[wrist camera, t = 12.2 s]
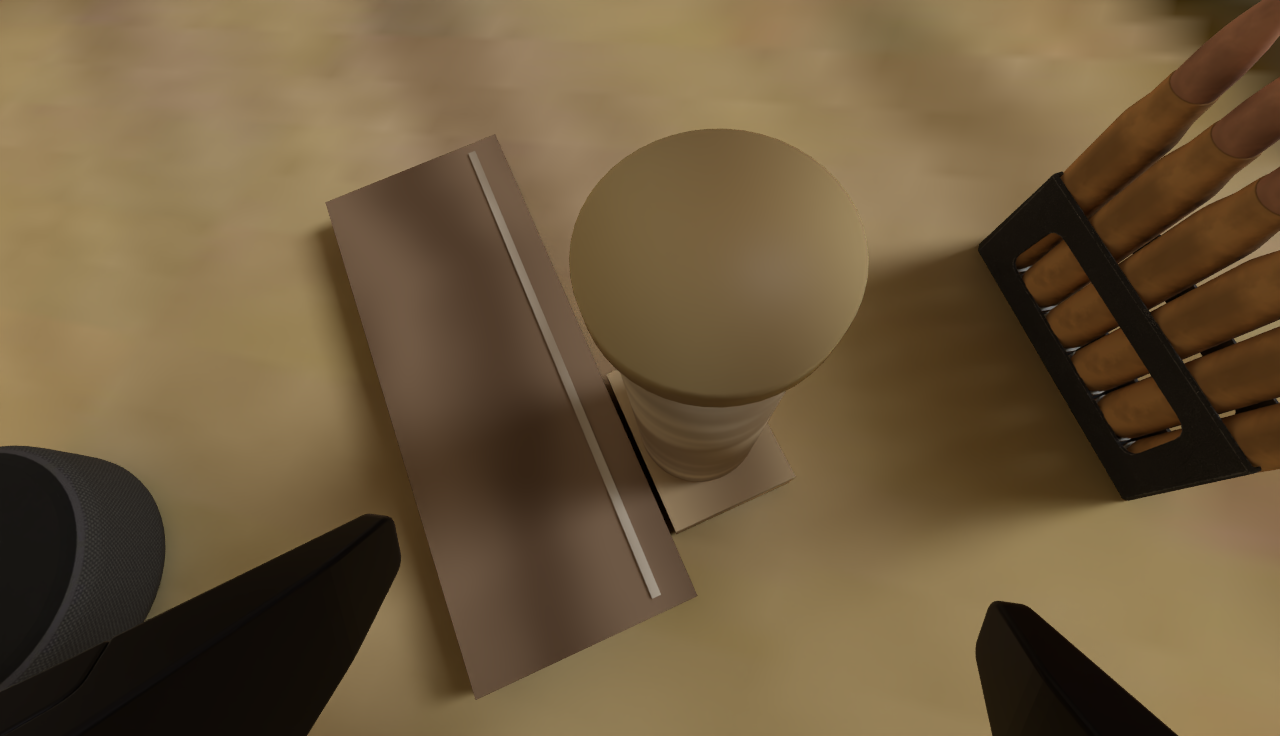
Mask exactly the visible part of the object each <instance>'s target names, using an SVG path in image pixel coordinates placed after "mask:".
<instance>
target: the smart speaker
mask: <svg viewBox="0 0 1280 736" xmlns="http://www.w3.org/2000/svg"><path fill="white" fill-rule="evenodd" d="M164 560H165V534H164V527H163V523H162V518H161V515H160V513H159V510H158V507H157V505H156V503H155V501H154V499H153V497H152V495H151V494H150V492H149V491H148V489H147V488H146V487H145V486H144V485H143V484H142V483H141V481H140V480H138V479H137V478H136V477H135V476H134V475H133V474H132V473H130V472H129V471H127V470H126V469H124V468H123V467H120V466H118V465H116V464H114V463H111V462H108V461H105V460H102V459H98V458H94V457H89V456H84V455H78V454H73V453H67V452H62V451H56V450H51V449H45V448H38V447H29V446H2V447H0V691H1V690H3V689H5V688H7V687H10V686H12V685H14V684H16V683H19V682H21V681H23V680H25V679H27V678H29V677H31V676H34V675H36V674H38V673H40V672H42V671H44V670H46V669H48V668H50V667H52V666H55V665H57V664H59V663H61V662H63V661H65V660H67V659H69V658H71V657H74V656H76V655H78V654H80V653H82V652H84V651H86V650H88V649H90V648H92V647H94V646H96V645H98V644H100V643H102V642H104V641H108V642H110V640H111V639H112V638H113V637H115V636H117V635H119V634H121V633H123V632H125V631H127V630H129V629H131V628H133V627H135V626H137V625H139V624H141V623H143V622H144V620H145V618H146V616H147V614H148V612H149V611H150V608H151V606H152V604H153V602H154V599H155V597H156V594H157V591H158V588H159V585H160V581H161V577H162V573H163V567H164Z"/></svg>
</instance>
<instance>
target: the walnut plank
mask: <svg viewBox="0 0 1280 736" xmlns="http://www.w3.org/2000/svg"><path fill="white" fill-rule="evenodd" d="M326 206H327V209H328V212H329V216H330V219H331V222H332V226H333V229H334V232H335V236H336V239H337V242H338V245H339V249H340V252H341V255H342V259H343V262H344V265H345V269H346V272H347V275H348V279H349V282H350V285H351V289H352V292H353V295H354V298H355V302H356V305H357V308H358V312H359V315H360V318H361V322H362V325H363V328H364V332H365V335H366V338H367V342H368V345H369V348H370V351H371V355H372V358H373V361H374V365H375V368H376V371H377V375H378V378H379V381H380V385H381V388H382V391H383V395H384V398H385V401H386V404H387V408H388V411H389V414H390V418H391V421H392V424H393V428H394V431H395V434H396V438H397V441H398V444H399V448H400V451H401V454H402V458H403V461H404V464H405V467H406V471H407V474H408V477H409V481H410V484H411V487H412V491H413V494H414V497H415V501H416V504H417V507H418V511H419V514H420V517H421V520H422V524H423V527H424V530H425V534H426V537H427V540H428V544H429V547H430V550H431V554H432V557H433V560H434V564H435V567H436V570H437V573H438V577H439V580H440V583H441V587H442V590H443V593H444V597H445V600H446V603H447V607H448V610H449V613H450V617H451V620H452V623H453V626H454V630H455V633H456V636H457V640H458V643H459V646H460V650H461V653H462V656H463V660H464V663H465V666H466V670H467V673H468V676H469V679H470V683H471V686H472V689H473V693H474V696H475V699H476V700H477V699H479V698H481V697H483V696H485V695H487V694H490V693H492V692H494V691H496V690H498V689H500V688H502V687H504V686H507V685H509V684H511V683H513V682H515V681H517V680H519V679H522V678H524V677H526V676H528V675H530V674H532V673H534V672H536V671H539V670H541V669H543V668H545V667H547V666H549V665H551V664H553V663H556V662H558V661H560V660H562V659H564V658H566V657H568V656H571V655H573V654H575V653H577V652H579V651H581V650H583V649H585V648H588V647H590V646H592V645H594V644H596V643H598V642H600V641H602V640H605V639H607V638H609V637H611V636H613V635H615V634H617V633H620V632H622V631H624V630H626V629H628V628H630V627H632V626H634V625H637V624H639V623H641V622H643V621H645V620H647V619H649V618H651V617H654V616H656V615H658V614H660V613H662V612H664V611H666V610H669V609H671V608H673V607H675V606H677V605H679V604H681V603H683V602H686V601H688V600H690V599H692V598H694V597H696V596H697V594H696V592H695V589H694V587H693V585H692V582H691V580H690V578H689V576H688V573H687V571H686V569H685V566H684V564H683V562H682V560H681V557H680V555H679V553H678V550H677V548H676V546H675V544H674V541H673V539H672V537H671V534H670V532H669V530H668V528H667V525H666V523H665V521H664V519H663V516H662V514H661V512H660V509H659V507H658V505H657V503H656V500H655V498H654V496H653V493H652V491H651V489H650V487H649V484H648V482H647V480H646V477H645V475H644V473H643V471H642V468H641V466H640V464H639V461H638V459H637V457H636V455H635V452H634V450H633V448H632V445H631V443H630V441H629V439H628V436H627V434H626V432H625V430H624V427H623V425H622V423H621V420H620V418H619V416H618V414H617V411H616V409H615V407H614V404H613V402H612V400H611V398H610V395H609V393H608V391H607V388H606V386H605V384H604V382H603V379H602V377H601V375H600V372H599V370H598V368H597V366H596V363H595V361H594V359H593V357H592V354H591V352H590V350H589V347H588V345H587V343H586V341H585V338H584V336H583V334H582V331H581V329H580V327H579V325H578V322H577V320H576V318H575V315H574V313H573V311H572V309H571V306H570V304H569V302H568V299H567V297H566V295H565V293H564V290H563V288H562V286H561V283H560V281H559V279H558V277H557V274H556V272H555V270H554V268H553V265H552V263H551V261H550V258H549V256H548V254H547V252H546V249H545V247H544V245H543V242H542V240H541V238H540V236H539V233H538V231H537V229H536V226H535V224H534V222H533V220H532V217H531V215H530V213H529V210H528V208H527V206H526V204H525V201H524V199H523V197H522V195H521V192H520V190H519V188H518V185H517V183H516V181H515V179H514V176H513V174H512V172H511V169H510V167H509V165H508V163H507V160H506V158H505V156H504V153H503V151H502V149H501V147H500V144H499V142H498V140H497V137H496V135H495V134H494V135H492V136H489V137H487V138H484V139H482V140H479V141H477V142H475V143H472V144H470V145H467V146H465V147H462V148H460V149H457V150H455V151H452V152H450V153H447V154H445V155H442V156H440V157H437V158H435V159H432V160H430V161H427V162H425V163H422V164H420V165H417V166H415V167H412V168H410V169H407V170H405V171H402V172H400V173H397V174H395V175H392V176H390V177H388V178H385V179H383V180H380V181H378V182H375V183H373V184H370V185H368V186H365V187H363V188H360V189H358V190H355V191H353V192H350V193H348V194H345V195H343V196H340V197H338V198H335V199H333V200H330V201H328V202H326Z"/></svg>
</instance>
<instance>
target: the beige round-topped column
mask: <svg viewBox="0 0 1280 736" xmlns="http://www.w3.org/2000/svg"><path fill="white" fill-rule="evenodd" d="M868 264H869V258H868V246H867V240H866V236H865V231H864V227H863V224H862V222H861V219H860V217H859V214H858V211H857V209H856V207H855V206H854V204H853V202H852V200H851V199H850V197H849V195H848V194H847V192H846V191H845V190H844V188H843V187H842V186H841V184H840V183H839V182H838V181H837V180H836V179H835V177H834V176H833V175H832V174H831V173H830V172H829V171H828V170H827V169H826V168H824V167H823V166H822V165H821V164H819V163H818V162H817V161H816V160H814V159H813V158H812V157H810V156H809V155H807V154H805V153H804V152H802V151H800V150H799V149H797V148H795V147H793V146H791V145H789V144H787V143H785V142H782V141H780V140H778V139H774V138H771V137H768V136H765V135H762V134H758V133H753V132H748V131H743V130H732V129H704V130H695V131H688V132H684V133H680V134H675V135H671V136H668V137H666V138H663V139H660V140H657V141H654V142H652V143H650V144H648V145H646V146H644V147H642V148H640V149H638V150H637V151H635V152H633V153H632V154H630V155H629V156H627V157H625V158H624V159H623V160H622V161H620V162H619V163H618V164H617V165H615V166H614V167H613V168H612V169H611V170H610V171H609V172H608V173H607V174H606V175H605V176H604V177H603V178H602V179H601V180H600V181H599V182H598V184H597V185H596V186H595V188H594V189H593V190H592V192H591V193H590V194H589V196H588V198H587V199H586V201H585V203H584V205H583V207H582V208H581V210H580V213H579V216H578V218H577V221H576V223H575V226H574V230H573V234H572V238H571V244H570V255H569V265H570V278H571V283H572V288H573V293H574V295H575V298H576V301H577V304H578V306H579V309H580V312H581V314H582V317H583V319H584V322H585V324H586V327H587V329H588V331H589V333H590V335H591V337H592V338H593V340H594V342H595V344H596V345H597V347H598V348H599V350H600V351H601V352H602V354H603V355H604V356H605V358H606V359H607V360H608V361H609V362H610V363H611V364H612V365H613V366H614V367H615V368H616V369H617V370H615V371H613V372H611V373H608V374H606V375H607V377H608V380H609V382H610V385H611V387H612V389H613V392H614V394H615V396H616V398H617V401H618V403H619V405H620V407H621V410H622V412H623V414H624V416H625V419H626V421H627V423H628V425H629V428H630V430H631V432H632V435H633V437H634V439H635V441H636V444H637V446H638V448H639V450H640V453H641V455H642V457H643V459H644V462H645V464H646V466H647V469H648V471H649V473H650V475H651V478H652V480H653V482H654V484H655V487H656V489H657V491H658V493H659V496H660V498H661V500H662V502H663V505H664V507H665V509H666V512H667V514H668V516H669V518H670V521H671V523H672V525H673V527H674V530H675V532H676V534H678V533H680V532H683V531H685V530H687V529H689V528H691V527H693V526H696V525H698V524H700V523H702V522H704V521H706V520H709V519H711V518H713V517H715V516H717V515H719V514H722V513H724V512H726V511H728V510H730V509H733V508H735V507H737V506H739V505H741V504H743V503H746V502H748V501H750V500H752V499H754V498H756V497H759V496H761V495H763V494H765V493H767V492H769V491H772V490H774V489H776V488H778V487H780V486H782V485H785V484H787V483H789V482H790V481H791V480H792V479H794V478H795V477H796V476H795V474H794V472H793V470H792V468H791V467H790V465H789V463H788V461H787V459H786V457H785V455H784V453H783V451H782V449H781V447H780V446H779V444H778V442H777V440H776V438H775V436H774V434H773V432H772V430H771V428H770V427H769V425H768V423H767V422H768V420H769V418H770V417H771V415H772V413H773V412H774V410H775V408H776V407H777V405H778V403H779V402H780V400H781V398H782V397H783V395H784V393H785V392H786V390H788V389H790V388H792V387H794V386H795V385H797V384H798V383H800V382H801V381H802V380H804V379H805V378H807V377H808V376H809V375H811V374H812V373H813V372H814V371H815V370H816V369H817V368H818V367H819V366H820V365H821V364H822V363H823V362H824V361H825V360H826V358H827V357H828V356H829V354H830V353H831V352H832V351H833V349H834V348H835V347H836V345H837V344H838V342H839V341H840V340H841V338H842V337H843V335H844V334H845V332H846V331H847V330H848V328H849V326H850V324H851V323H852V321H853V319H854V317H855V316H856V314H857V312H858V309H859V307H860V304H861V302H862V299H863V296H864V292H865V288H866V283H867V279H868Z"/></svg>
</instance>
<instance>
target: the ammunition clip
mask: <svg viewBox="0 0 1280 736" xmlns="http://www.w3.org/2000/svg"><path fill="white" fill-rule="evenodd" d="M1279 36H1280V0H1262V1H1261V2H1259V3H1258V4H1256V5H1255V6H1253V7H1251V8H1250V9H1248V10H1247V11H1245V12H1244V13H1243V14H1241V15H1240V16H1238V17H1237V18H1236V19H1234V20H1233V21H1232V22H1230V23H1229V24H1228V25H1226V26H1225V27H1224V28H1223V29H1221V30H1220V31H1219V32H1218V33H1217V34H1215V35H1214V36H1213V37H1212V38H1211V39H1209V40H1208V41H1207V42H1206V43H1205V44H1203V45H1202V46H1201V47H1200V48H1199V49H1198V50H1197V51H1196V52H1195V53H1194V54H1193V55H1192V56H1191V57H1190V58H1189V59H1187V60H1186V61H1185V62H1184V63H1183V64H1182V65H1181V66H1180V67H1179V68H1178V69H1177V70H1175V71H1174V72H1172V73H1171V74H1170V75H1169V76H1168V77H1167V78H1166V79H1165V80H1164V81H1162V82H1161V83H1160V84H1159V85H1158V86H1157V87H1156V88H1155V89H1154V90H1153V91H1152V92H1151V93H1149V94H1148V95H1146V96H1145V97H1143V98H1142V99H1140V100H1139V101H1138V102H1136V103H1135V104H1133V105H1132V106H1130V107H1129V108H1128V109H1126V110H1125V111H1124V112H1123V113H1122V114H1121V115H1120V116H1119V117H1118V118H1117V119H1116V120H1115V121H1114V122H1113V123H1112V124H1111V125H1110V126H1109V127H1108V128H1107V129H1106V130H1105V131H1104V132H1103V133H1102V134H1101V135H1100V136H1099V137H1098V138H1097V139H1096V140H1095V141H1094V142H1093V143H1092V144H1091V145H1090V146H1089V147H1088V148H1087V149H1086V150H1085V151H1084V152H1083V153H1082V154H1081V155H1080V156H1079V157H1078V158H1077V159H1076V160H1075V161H1074V162H1073V163H1072V164H1071V165H1070V166H1069V167H1068V168H1067V169H1066V171H1065V172H1064V173H1063V172H1059V173H1056V174H1054V175H1052V176H1051V177H1050V178H1049V179H1048V180H1047V181H1046V182H1045V183H1044V184H1043V185H1042V186H1041V187H1040V188H1039V189H1038V190H1037V191H1036V192H1035V193H1033V194H1032V195H1031V196H1030V197H1029V198H1028V199H1027V200H1026V201H1025V202H1024V203H1023V204H1022V205H1021V206H1020V207H1018V208H1017V209H1016V210H1015V211H1014V212H1013V213H1012V214H1011V215H1010V216H1009V217H1008V218H1007V219H1006V220H1005V221H1004V222H1002V223H1001V224H1000V225H999V226H998V227H997V228H996V229H995V230H994V231H993V232H992V233H991V234H990V235H989V236H987V237H986V238H985V239H984V240H983V241H982V242H981V243H980V244H979V248H978V251H979V253H980V255H981V256H982V258H983V260H984V262H985V263H986V265H987V267H988V268H989V270H990V272H991V274H992V275H993V277H994V279H995V280H996V282H997V284H998V286H999V287H1000V289H1001V291H1002V292H1003V294H1004V296H1005V298H1006V299H1007V301H1008V303H1009V305H1010V306H1011V308H1012V310H1013V311H1014V313H1015V315H1016V317H1017V318H1018V320H1019V322H1020V323H1021V325H1022V327H1023V329H1024V330H1025V332H1026V334H1027V335H1028V337H1029V339H1030V341H1031V342H1032V344H1033V346H1034V347H1035V349H1036V351H1037V353H1038V354H1039V356H1040V358H1041V359H1042V361H1043V363H1044V365H1045V366H1046V368H1047V370H1048V371H1049V373H1050V375H1051V377H1052V378H1053V380H1054V382H1055V383H1056V385H1057V387H1058V389H1059V390H1060V392H1061V394H1062V396H1063V397H1064V399H1065V401H1066V402H1067V404H1068V406H1069V408H1070V409H1071V411H1072V413H1073V414H1074V416H1075V418H1076V420H1077V421H1078V423H1079V425H1080V426H1081V428H1082V430H1083V432H1084V433H1085V435H1086V437H1087V438H1088V440H1089V442H1090V444H1091V445H1092V447H1093V449H1094V450H1095V452H1096V454H1097V456H1098V457H1099V459H1100V461H1101V462H1102V464H1103V466H1104V468H1105V469H1106V471H1107V473H1108V475H1109V476H1110V478H1111V480H1112V481H1113V483H1114V485H1115V487H1116V488H1117V490H1118V492H1119V493H1120V495H1121V497H1122V499H1125V500H1128V501H1129V500H1134V499H1138V498H1143V497H1147V496H1152V495H1157V494H1161V493H1166V492H1171V491H1175V490H1180V489H1184V488H1189V487H1194V486H1198V485H1203V484H1208V483H1212V482H1217V481H1221V480H1226V479H1231V478H1235V477H1240V476H1245V475H1249V474H1254V473H1258V472H1264V471H1270V470H1276V469H1280V403H1279V402H1278V401H1277V399H1276V398H1278V397H1280V327H1277V328H1274V329H1272V330H1269V331H1267V332H1264V333H1262V334H1259V335H1256V336H1254V337H1251V338H1249V339H1246V340H1244V341H1241V342H1238V343H1236V341H1235V340H1234V338H1236V337H1239V336H1241V335H1243V334H1246V333H1248V332H1251V331H1253V330H1255V329H1258V328H1260V327H1263V326H1265V325H1268V324H1270V323H1272V322H1275V321H1277V320H1280V250H1279V251H1276V252H1273V253H1270V254H1266V255H1263V256H1260V257H1257V258H1254V259H1251V260H1249V261H1247V262H1245V263H1243V264H1241V265H1239V266H1237V267H1235V268H1233V269H1231V270H1229V271H1227V272H1225V273H1224V274H1222V275H1220V276H1218V277H1216V278H1214V279H1212V280H1210V281H1208V282H1206V283H1205V284H1203V285H1201V286H1199V287H1197V286H1196V285H1195V284H1197V283H1198V282H1200V281H1202V280H1204V279H1206V278H1208V277H1209V276H1211V275H1213V274H1215V273H1217V272H1218V271H1220V270H1222V269H1224V268H1226V267H1227V266H1229V265H1231V264H1233V263H1235V262H1237V261H1238V260H1240V259H1242V258H1244V257H1246V256H1247V255H1249V254H1251V253H1252V252H1254V251H1256V250H1257V249H1258V248H1259V247H1261V246H1262V245H1263V244H1264V243H1265V242H1267V241H1268V240H1269V239H1270V238H1271V237H1272V236H1274V235H1275V234H1276V233H1277V232H1278V231H1280V167H1279V168H1277V169H1276V170H1274V171H1272V172H1271V173H1269V174H1268V175H1265V176H1263V177H1261V178H1259V179H1258V180H1256V181H1254V182H1253V183H1251V184H1249V185H1248V186H1246V187H1244V188H1243V189H1241V190H1239V191H1238V192H1236V193H1234V194H1232V195H1230V196H1227V197H1225V198H1223V199H1220V200H1218V201H1216V202H1214V203H1211V204H1209V205H1207V206H1206V207H1204V208H1202V209H1200V210H1199V211H1197V212H1195V213H1194V214H1192V215H1191V216H1189V217H1188V218H1186V219H1185V220H1183V221H1182V222H1180V223H1179V224H1177V225H1176V226H1174V227H1173V228H1171V229H1170V230H1168V231H1167V232H1166V233H1164V234H1163V235H1160V234H1161V233H1162V232H1164V231H1165V230H1167V229H1168V228H1170V227H1171V226H1172V225H1174V224H1175V223H1177V222H1178V221H1180V220H1181V219H1182V218H1184V217H1185V216H1187V215H1188V214H1190V213H1191V212H1193V211H1194V210H1195V209H1197V208H1198V207H1200V206H1201V205H1203V204H1204V203H1205V202H1207V201H1208V200H1210V199H1211V198H1212V197H1213V196H1215V195H1216V194H1217V193H1218V192H1219V191H1220V190H1221V189H1222V188H1223V187H1224V186H1225V185H1226V183H1227V182H1228V181H1229V180H1230V179H1231V178H1232V177H1233V176H1234V175H1235V174H1236V173H1238V172H1239V171H1240V170H1242V169H1243V168H1244V167H1246V166H1247V165H1248V164H1249V163H1251V162H1252V161H1253V160H1255V159H1256V158H1257V157H1259V156H1260V155H1261V153H1262V152H1263V151H1264V150H1266V149H1267V148H1268V147H1270V146H1271V145H1273V144H1274V143H1275V142H1277V141H1278V140H1279V139H1280V77H1279V78H1278V79H1276V80H1274V81H1273V82H1271V83H1270V84H1268V85H1267V86H1265V87H1264V88H1262V89H1261V90H1259V91H1258V92H1257V93H1255V94H1254V95H1252V96H1251V97H1249V98H1248V99H1246V100H1245V101H1244V102H1242V103H1241V104H1240V105H1239V106H1237V107H1236V108H1235V109H1234V110H1232V111H1231V112H1230V113H1229V114H1227V115H1226V116H1225V117H1224V118H1222V119H1221V120H1219V121H1218V122H1216V123H1214V124H1213V125H1211V126H1210V127H1209V128H1207V129H1206V130H1205V131H1203V132H1202V133H1201V134H1199V135H1198V136H1197V137H1196V138H1194V139H1193V140H1192V141H1190V142H1189V143H1187V144H1185V145H1183V146H1182V147H1180V148H1178V149H1176V150H1175V151H1173V152H1171V153H1169V154H1168V155H1166V156H1164V155H1165V154H1166V153H1167V152H1169V151H1170V150H1171V149H1172V148H1173V147H1174V146H1175V145H1176V144H1177V143H1178V142H1179V141H1180V139H1181V138H1182V137H1183V136H1184V134H1185V133H1186V132H1187V130H1188V129H1189V128H1190V127H1191V125H1192V124H1193V123H1194V122H1195V121H1196V120H1197V119H1198V118H1199V117H1200V116H1201V115H1202V114H1203V113H1204V112H1205V111H1206V110H1208V109H1209V108H1210V107H1211V106H1212V105H1213V104H1214V103H1215V102H1216V101H1217V100H1218V98H1219V97H1220V96H1221V95H1222V94H1223V93H1224V92H1225V91H1226V90H1228V89H1229V88H1230V87H1231V86H1232V85H1233V84H1234V83H1235V82H1237V81H1238V80H1239V79H1240V78H1241V77H1242V76H1243V75H1244V74H1245V73H1246V72H1247V71H1248V70H1249V69H1250V68H1251V67H1252V66H1253V65H1254V64H1255V63H1256V62H1257V61H1258V60H1259V59H1260V57H1261V56H1262V55H1263V54H1264V53H1265V52H1266V51H1267V50H1268V49H1269V48H1270V46H1271V45H1272V44H1273V43H1274V42H1275V40H1276V39H1277V38H1278V37H1279ZM1163 156H1164V157H1163ZM1162 157H1163V158H1162ZM1160 158H1161V159H1160ZM1159 159H1160V160H1159ZM1158 160H1159V161H1158ZM1153 164H1154V165H1153ZM1132 253H1133V255H1131V254H1132ZM1129 255H1131V256H1130V257H1128V256H1129ZM1127 257H1128V258H1127ZM1125 258H1127V259H1125ZM1124 259H1125V260H1124ZM1122 260H1124V261H1122ZM1121 261H1122V262H1121ZM1119 262H1121V263H1120V264H1118V263H1119ZM1089 283H1090V284H1089ZM1086 285H1087V286H1086ZM1164 301H1165V302H1166V303H1167V304H1165V305H1163V306H1161V307H1159V308H1157V309H1155V310H1153V311H1151V312H1149V309H1151V308H1153V307H1155V306H1157V305H1159V304H1160V303H1162V302H1164ZM1119 326H1120V328H1119V329H1117V330H1115V331H1113V332H1112V333H1110V334H1109V333H1108V332H1110V331H1111V330H1113V329H1115V328H1117V327H1119ZM1197 353H1201V355H1202V357H1200V358H1197V359H1195V360H1192V361H1190V362H1187V363H1183V361H1182V360H1183V359H1185V358H1188V357H1190V356H1193V355H1195V354H1197ZM1149 373H1150V375H1151V377H1148V378H1146V379H1143V380H1141V381H1138V379H1137V378H1139V377H1142V376H1144V375H1147V374H1149ZM1232 410H1236V413H1235V415H1232V416H1228V417H1224V418H1220V417H1219V415H1218V414H1222V413H1225V412H1229V411H1232ZM1179 425H1181V427H1182V429H1178V430H1174V431H1171V430H1170V429H1169V428H1172V427H1176V426H1179Z"/></svg>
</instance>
